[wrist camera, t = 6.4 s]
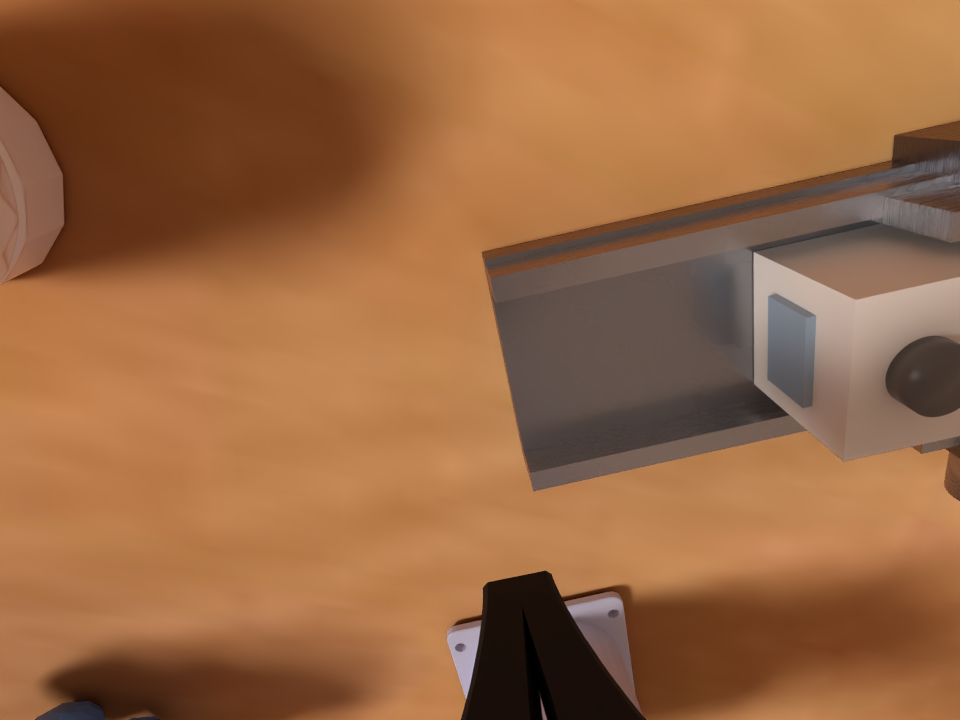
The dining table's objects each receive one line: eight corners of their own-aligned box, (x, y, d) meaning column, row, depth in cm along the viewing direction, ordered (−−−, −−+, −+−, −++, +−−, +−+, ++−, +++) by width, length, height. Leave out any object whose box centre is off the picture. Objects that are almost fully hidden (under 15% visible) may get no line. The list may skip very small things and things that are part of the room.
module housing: (980, 433, 25) (1150, 535, 19) (539, 531, 25) (574, 663, 19) (1043, 101, 19) (1309, 104, 13) (477, 228, 19) (499, 285, 13)
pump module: (888, 354, 21) (1040, 439, 16) (745, 386, 21) (851, 480, 16) (902, 218, 19) (1083, 264, 14) (744, 253, 19) (866, 313, 14)
